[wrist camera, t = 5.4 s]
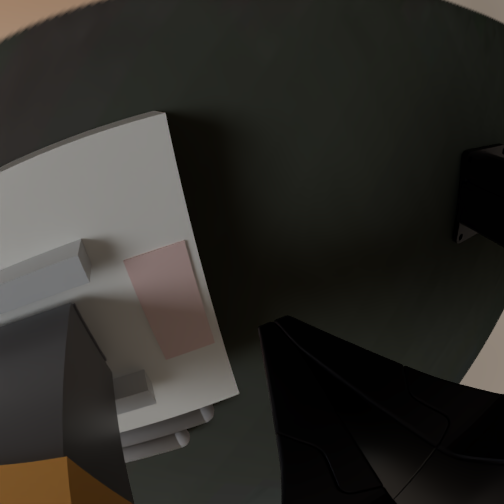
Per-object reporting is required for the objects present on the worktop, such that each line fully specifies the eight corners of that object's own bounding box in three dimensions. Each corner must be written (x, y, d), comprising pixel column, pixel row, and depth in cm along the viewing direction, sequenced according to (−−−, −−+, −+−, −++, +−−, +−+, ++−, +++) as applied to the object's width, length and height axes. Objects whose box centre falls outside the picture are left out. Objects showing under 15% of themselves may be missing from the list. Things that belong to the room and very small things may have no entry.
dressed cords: (206, 390, 16) (214, 409, 15) (219, 419, 18) (226, 436, 17) (-27, 446, 12) (-28, 462, 11) (2, 468, 14) (1, 484, 12)
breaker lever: (73, 294, 8) (71, 508, 3) (120, 374, 10) (157, 546, 5) (-35, 332, 7) (-77, 502, 2) (19, 401, 8) (19, 553, 4)
